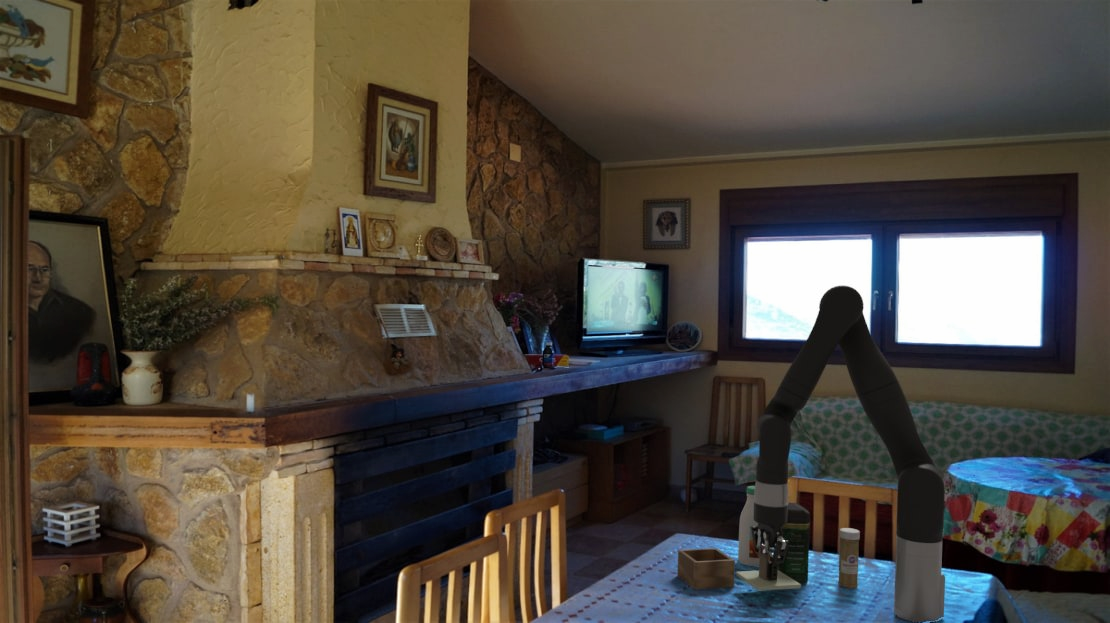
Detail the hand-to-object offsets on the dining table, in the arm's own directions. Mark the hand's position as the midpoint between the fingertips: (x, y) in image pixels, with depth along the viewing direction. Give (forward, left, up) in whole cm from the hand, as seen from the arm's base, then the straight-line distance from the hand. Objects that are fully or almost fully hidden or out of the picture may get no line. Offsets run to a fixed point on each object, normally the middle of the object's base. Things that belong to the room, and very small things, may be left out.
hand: (768, 576), depth 196 cm
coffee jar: (-12, -11, -5) cm, 17 cm away
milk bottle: (-9, -24, -5) cm, 26 cm away
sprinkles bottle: (-24, -5, -5) cm, 25 cm away
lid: (0, 0, -1) cm, 1 cm away
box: (+10, -12, -5) cm, 16 cm away
